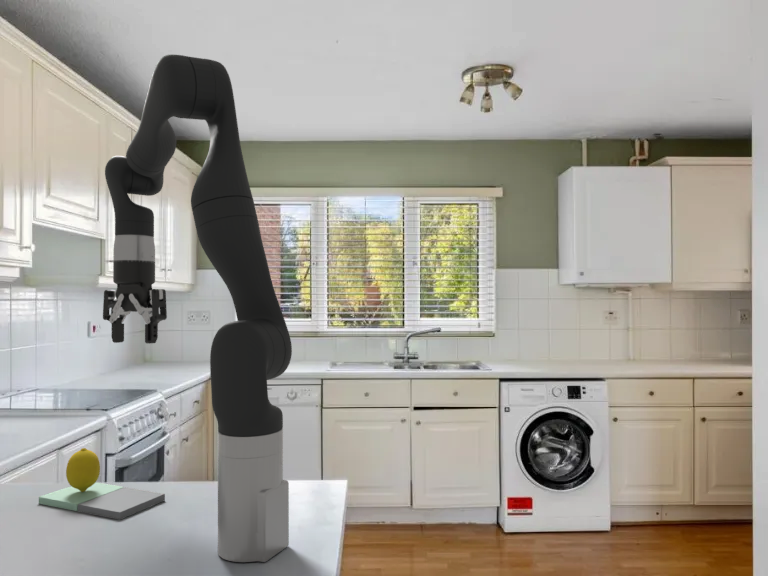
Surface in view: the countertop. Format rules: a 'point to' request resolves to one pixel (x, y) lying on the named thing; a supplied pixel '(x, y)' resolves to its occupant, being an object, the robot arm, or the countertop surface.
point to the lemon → (83, 469)
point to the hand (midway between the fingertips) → (134, 342)
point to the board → (103, 500)
